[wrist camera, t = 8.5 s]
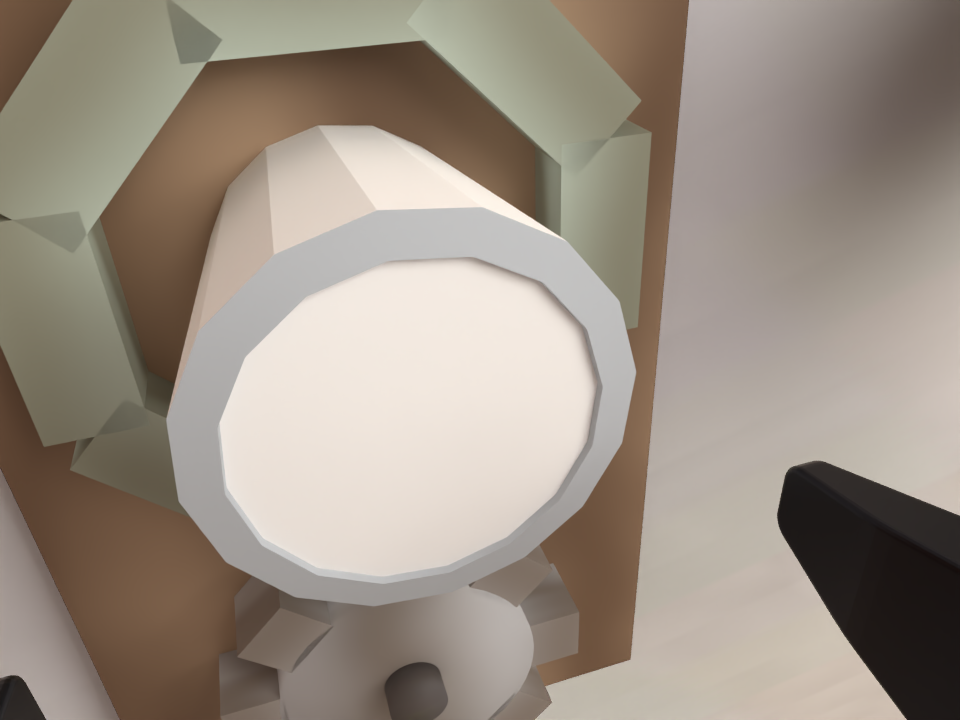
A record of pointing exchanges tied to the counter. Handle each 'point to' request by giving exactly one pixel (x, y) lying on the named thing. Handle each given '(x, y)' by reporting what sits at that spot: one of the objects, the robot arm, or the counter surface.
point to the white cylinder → (389, 374)
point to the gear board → (173, 288)
